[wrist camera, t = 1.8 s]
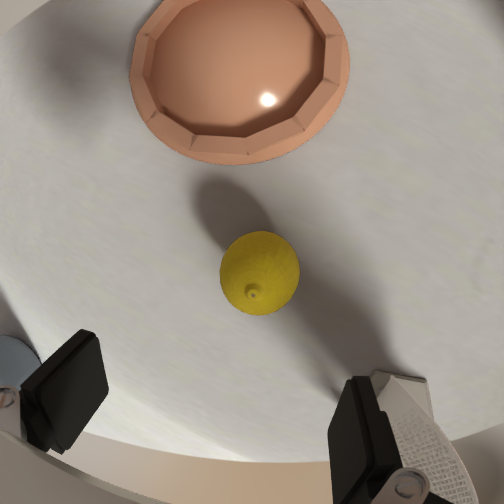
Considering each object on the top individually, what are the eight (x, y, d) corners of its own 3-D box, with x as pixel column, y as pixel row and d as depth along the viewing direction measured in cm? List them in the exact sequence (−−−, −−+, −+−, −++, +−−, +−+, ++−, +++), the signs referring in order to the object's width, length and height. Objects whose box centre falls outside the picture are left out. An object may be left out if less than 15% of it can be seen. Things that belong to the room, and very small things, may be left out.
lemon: (219, 243, 25) (189, 279, 18) (275, 209, 24) (268, 231, 16) (254, 296, 26) (240, 348, 19) (310, 266, 25) (318, 310, 17)
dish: (349, -12, 17) (353, -26, 15) (337, 178, 23) (343, 179, 20) (154, -13, 19) (143, -24, 17) (126, 160, 24) (111, 160, 22)
